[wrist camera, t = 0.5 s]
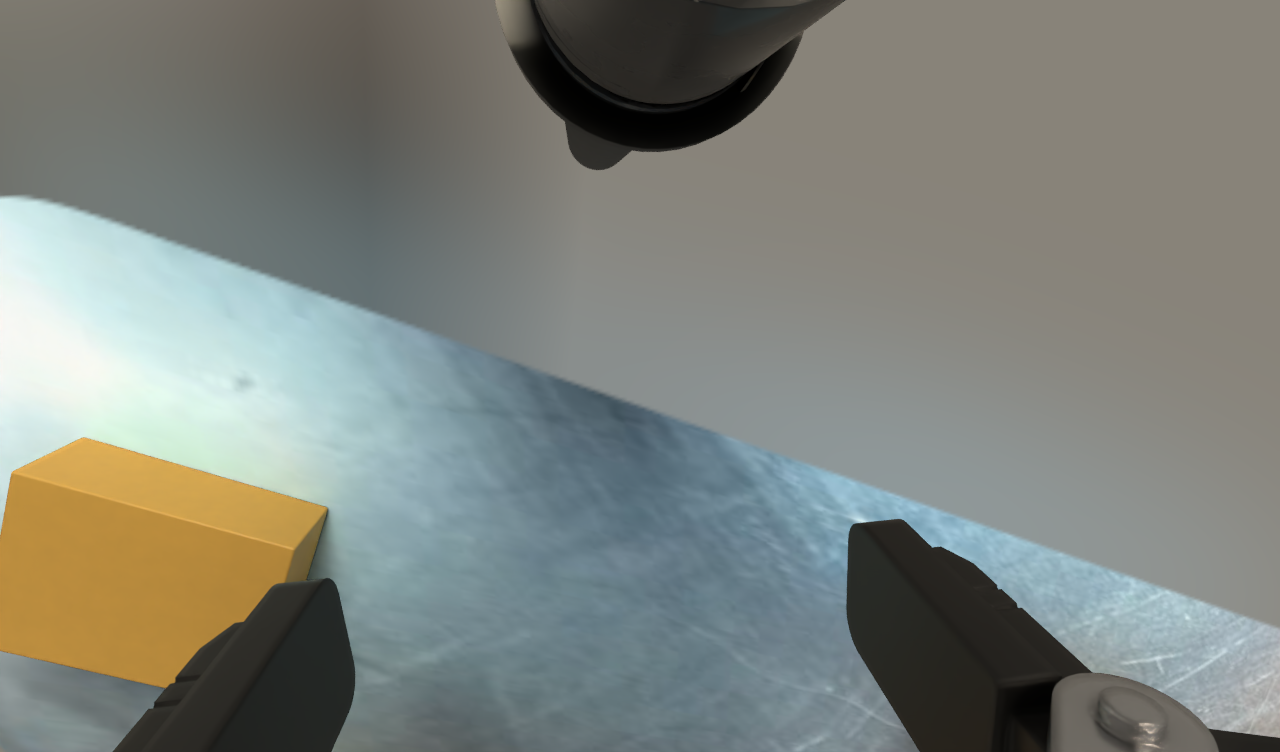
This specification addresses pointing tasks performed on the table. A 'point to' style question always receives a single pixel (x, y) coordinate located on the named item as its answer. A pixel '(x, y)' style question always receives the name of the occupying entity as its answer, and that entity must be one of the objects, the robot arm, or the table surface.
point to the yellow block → (138, 559)
